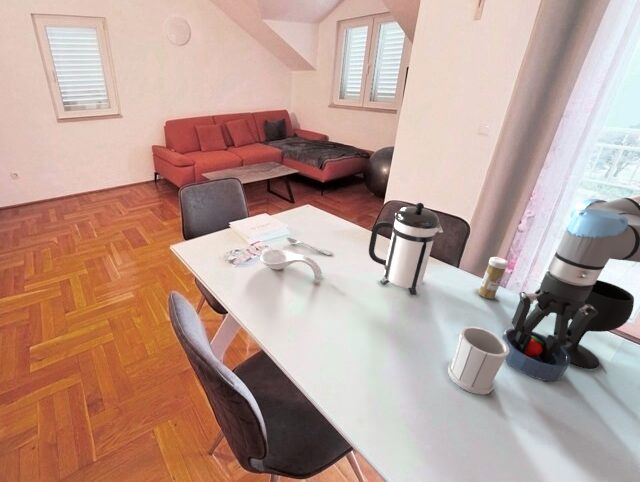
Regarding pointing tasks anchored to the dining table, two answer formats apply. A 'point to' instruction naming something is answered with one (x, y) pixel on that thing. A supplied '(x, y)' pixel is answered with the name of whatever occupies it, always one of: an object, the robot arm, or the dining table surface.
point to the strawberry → (534, 347)
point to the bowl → (536, 359)
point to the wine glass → (601, 319)
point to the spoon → (307, 245)
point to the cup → (477, 360)
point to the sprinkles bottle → (492, 277)
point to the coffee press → (407, 246)
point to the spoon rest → (288, 261)
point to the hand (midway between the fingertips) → (530, 355)
